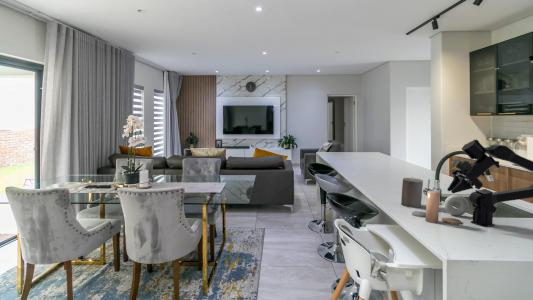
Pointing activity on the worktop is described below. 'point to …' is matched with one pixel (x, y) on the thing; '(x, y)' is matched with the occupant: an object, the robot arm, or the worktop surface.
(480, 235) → the worktop surface
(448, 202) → the donut
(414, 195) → the pillar candle
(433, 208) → the post
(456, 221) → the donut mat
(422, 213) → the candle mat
